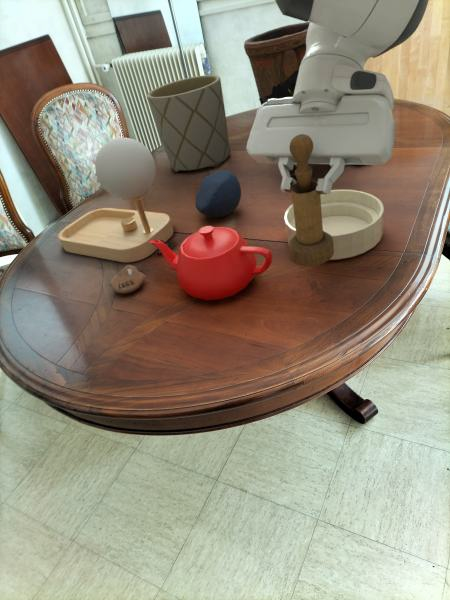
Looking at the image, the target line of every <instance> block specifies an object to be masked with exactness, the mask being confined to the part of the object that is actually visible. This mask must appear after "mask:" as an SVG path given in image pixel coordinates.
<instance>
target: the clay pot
mask: <svg viewBox="0 0 450 600" xmlns="http://www.w3.org/2000/svg"><path fill="white" fill-rule="evenodd" d="M309 23H310V21H308V22H305V21H304V22H299V23H292V24H287V25H284V26H283V25H282V26H280V27H277V28H273V29H270V30H268V31H265V32H262V33H259V34H256V35H254V36H251V37H250V38H247V39H246V40H244V43H243V48H244V51H245V54H246V56H247V58H248V60H249V63H250V67H251V70H252V74H253V77H254V81H255V86H256V89H257V93H258V97H259V98H262V97H266V96H268V95H271V94H272V89H273V86H278V84H281V83H280V81H281V82H282V83H284V82H285V81H286V80H287V79H288V78H289V77H290V76H291V75H292V74H293V73H294V72H295V71H296V70H297V69H299V68H300V64H301V62H302V60H303V58H304V56H305V54H306V36H307V32H308V27H309ZM261 96H262V97H261ZM259 98H258V99H259Z"/></svg>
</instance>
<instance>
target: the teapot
mask: <svg viewBox="0 0 450 600" xmlns="http://www.w3.org/2000/svg"><path fill="white" fill-rule="evenodd" d="M149 242H150V243H151V244H153V245H154V246H155V247H156V248H157V249H159V250H160V251H161V253H162V254H161V253H160V254H161V255H162V257H163V258H164V260H165V262H166V264H167V265H168V267H169V268H170V270H173V271H175V272H176V276H177V280H178V285H179V287H180V288H181V290H182V291H183V292H185V293H186V294H187V295H189V296H191V297H193V298H196V299H200V300H204V301H213V300H214V301H216V300H218V301H219V300H223V299H226V298H229V297H233V296H234V295H236V294H238V293H240V292H241V291H243V290H245V289H246V287H247V286H248V285H249V283H250V282H251V281H252V280H253V279H254V277H255V276H257V275H262V274H263V273H264V272H265V271H267V270H268V269H269V268H270V266H271V265H272V263H273V254H272V252H271V250H270V249H268V248H266V247H261V246H250V245H249V244H248V242H247V241H246V240H245V239H244V238H243V237H242V235H241V234H240V233H239V232H238V231H237V230H235V229H233V228H231V227H224V226H215V227H214V226H212V225H205V226H202V227H201V228H199V230H198V231H196V232H194V233H192V234H190V235H188V236H187V237H186V238H185V239H184V240H183V241H182V242H181V244H180V247H179V251H178V254H177V253H176V252H174V251H173V250H172V249H171V248H169V247H170V246H169V247H168V246H167V245H166V244H167V243H163V242H162V241H160V240H150V241H149ZM255 255H260V256H263V257H264V259H265V260H264V263H263V265H261V266H259V267H258V266H257V260H256V256H255Z"/></svg>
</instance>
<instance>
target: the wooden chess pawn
mask: <svg viewBox="0 0 450 600" xmlns="http://www.w3.org/2000/svg"><path fill="white" fill-rule="evenodd" d="M289 148H290V152H291V154H292V156H293V157H294V159H295V160H296V161H297V169H296V170H295V174H294V175H295V177H296V181H297V183H296V184H294V185H293V186H292V188H291V193H290V194H291V200H292V204H293V209H294V217H295V227H296V235H295V236H294V237H293V238H292V239H291V240H290V242H289V245H288V251H289V258H290V261H291V262H293V264H296V265H298V266H302V267H314V266H315V267H316V266H320V265H322V264H324V263H326V262H328V261H330V260H329V259H330V258H331V257H332V256H333V254H334V246H333V238H332V236H331V235H330V234H328V233H326V232H324V231H323V225H322V212H321V198H320V195H319V194H318V193H317V192H316V186H317V185H318V184H317V182H318V181H316V180H314V179H313V180H312V177H313V168H312V167H311V166H310V164H308V160H309V157H310V155H311V153H312V151H313V142H312V139H311V138H310V137H309V136H308V135H305V134H300V135H297V136H295V137H294V138H293V139H292V140H291V142H290V147H289Z"/></svg>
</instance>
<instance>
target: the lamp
mask: <svg viewBox="0 0 450 600" xmlns="http://www.w3.org/2000/svg"><path fill="white" fill-rule="evenodd" d="M94 166H95V167H94V169H95V174H96V177H97V180H98V182H99V184H100V185H101V187H102V188H103V189H104V190H105V191H106V192H107V193H108V194H110V195H112V196H114V197H115V198H118V199H121V200H123V201H125V202H129V203H131V202H134V204H135V208H136V209H135V210H134V209H124V208H114V207H102V208H97V209H94V210H90V211H88V212H86V213H85V214H83V215H82V216H80V217H79V218H77V219H75V220H74V221H73V222H71V223H69V224H68V225H67V226H65V227H64V228H63V229H62V230H61V231H59V233H58V235H57V236H58V239H59V241H60V243H61V246H62V248H63V250H64V251H65V252H67V253H72V254H76V255H81V256H87V257H93V258H98V259H104V260H109V261H114V262H119V263H134V262H138V261H142V260H145V258H148V257H150V256H151V255H153V254H154V253H155V252H156V254H161V255H162V253H161V251H160V250H159V249H157V248H156V247H155V246H154V245H153V244H151V243H150V242H149V241H150V240H160V241H162V242H163V243H165V244H166V245H167V246H168V247H169V248H170V249H171V250H172V249H173V248H174V247H175V244H174V243H173V242H172V241H169V239H170V238H171V237H172V236H173V234H174V227H173V223H172V220H171V217H170V216H169V215H168V214H167V213H163V212H156V211H145V210H144V206H143V204H142V199H143V198H145V197H146V196H147V194H148V193H149V190H151V188H152V186H153V184H154V182H155V178H156V174H157V172H156V170H157V168H156V162H155V159H154V156H153V154H152V153H151V151H150V150H149V148H147V146H146V145H144V144H143V143H141V142H140V141H139V140H136V139H134V138H130V137H116V138H113V139H111V140H109V141H107V142H106V143H105V144H104V145H102V147H101V148H100V149H99V151H98V152H97V155H96V158H95V164H94Z"/></svg>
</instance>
